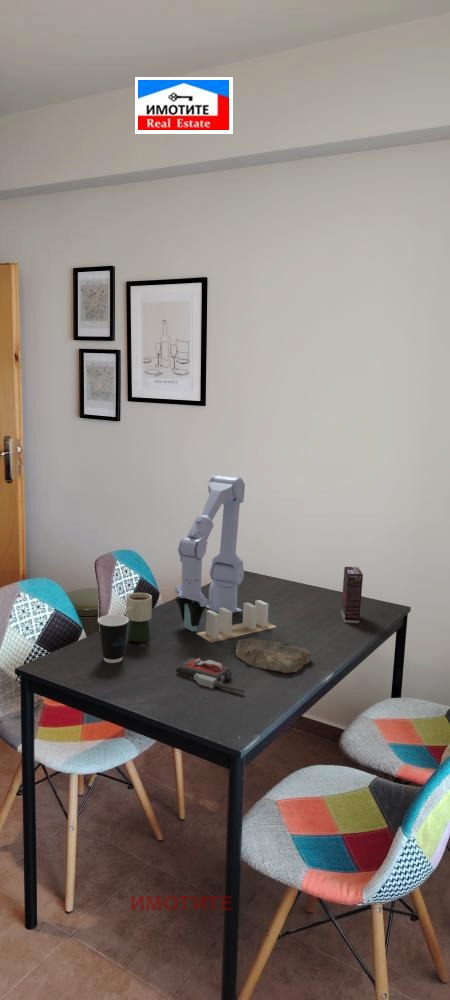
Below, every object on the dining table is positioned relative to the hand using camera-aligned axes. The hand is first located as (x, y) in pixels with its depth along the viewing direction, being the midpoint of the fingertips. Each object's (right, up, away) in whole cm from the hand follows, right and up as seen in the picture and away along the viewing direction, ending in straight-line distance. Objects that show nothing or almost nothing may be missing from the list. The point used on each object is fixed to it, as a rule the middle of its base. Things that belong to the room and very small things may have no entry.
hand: (190, 622), depth 206 cm
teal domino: (0, -2, 0) cm, 2 cm away
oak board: (+14, -3, +2) cm, 14 cm away
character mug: (-14, -4, -7) cm, 16 cm away
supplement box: (+50, -2, +17) cm, 52 cm away
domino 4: (+21, -2, +7) cm, 22 cm away
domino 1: (+6, -3, -3) cm, 8 cm away
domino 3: (+17, -2, +4) cm, 18 cm away
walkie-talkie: (+7, -10, -31) cm, 33 cm away
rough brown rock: (+22, -7, -17) cm, 29 cm away
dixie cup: (-19, -6, -20) cm, 29 cm away
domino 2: (+10, -3, -1) cm, 10 cm away
